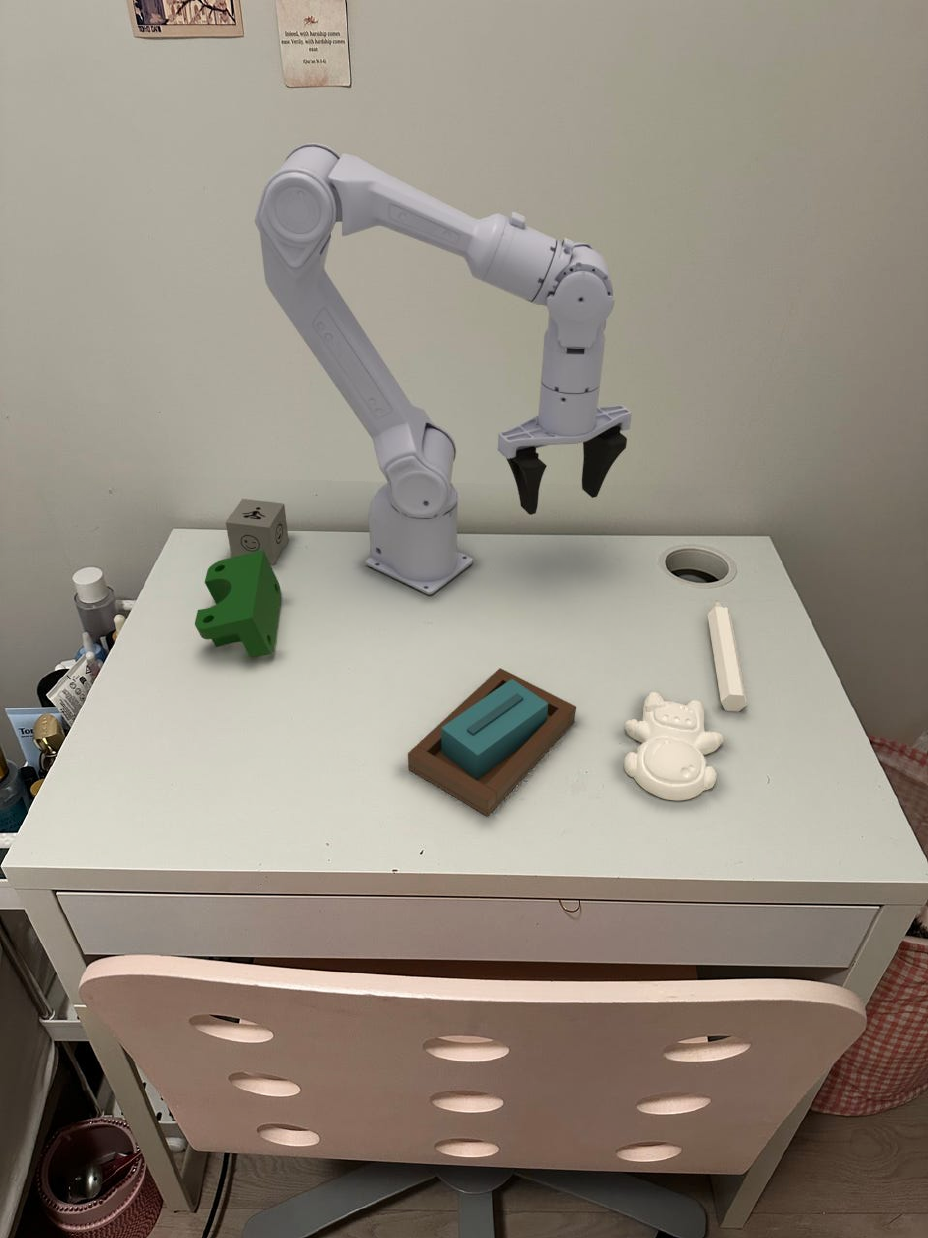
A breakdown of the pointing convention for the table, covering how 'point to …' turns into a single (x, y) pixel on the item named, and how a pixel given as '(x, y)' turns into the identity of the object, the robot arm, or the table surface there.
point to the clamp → (242, 604)
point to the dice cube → (258, 529)
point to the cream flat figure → (671, 749)
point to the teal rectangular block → (493, 728)
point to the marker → (726, 659)
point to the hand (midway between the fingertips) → (559, 501)
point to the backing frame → (509, 771)
